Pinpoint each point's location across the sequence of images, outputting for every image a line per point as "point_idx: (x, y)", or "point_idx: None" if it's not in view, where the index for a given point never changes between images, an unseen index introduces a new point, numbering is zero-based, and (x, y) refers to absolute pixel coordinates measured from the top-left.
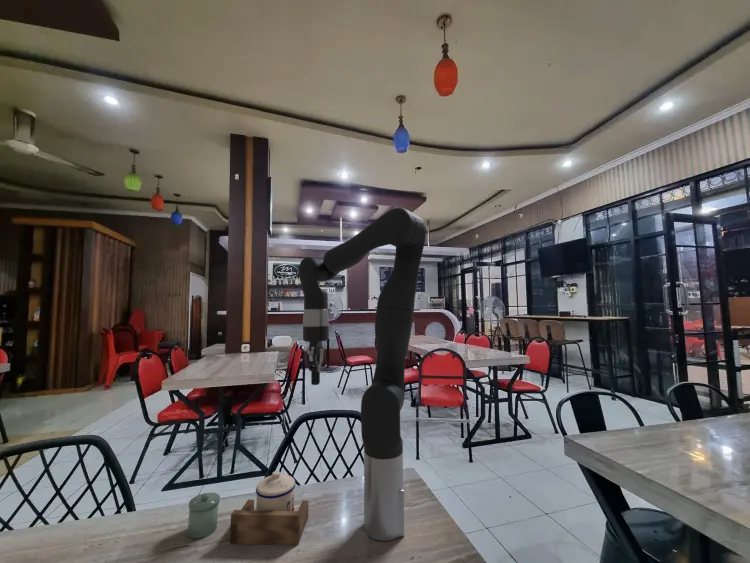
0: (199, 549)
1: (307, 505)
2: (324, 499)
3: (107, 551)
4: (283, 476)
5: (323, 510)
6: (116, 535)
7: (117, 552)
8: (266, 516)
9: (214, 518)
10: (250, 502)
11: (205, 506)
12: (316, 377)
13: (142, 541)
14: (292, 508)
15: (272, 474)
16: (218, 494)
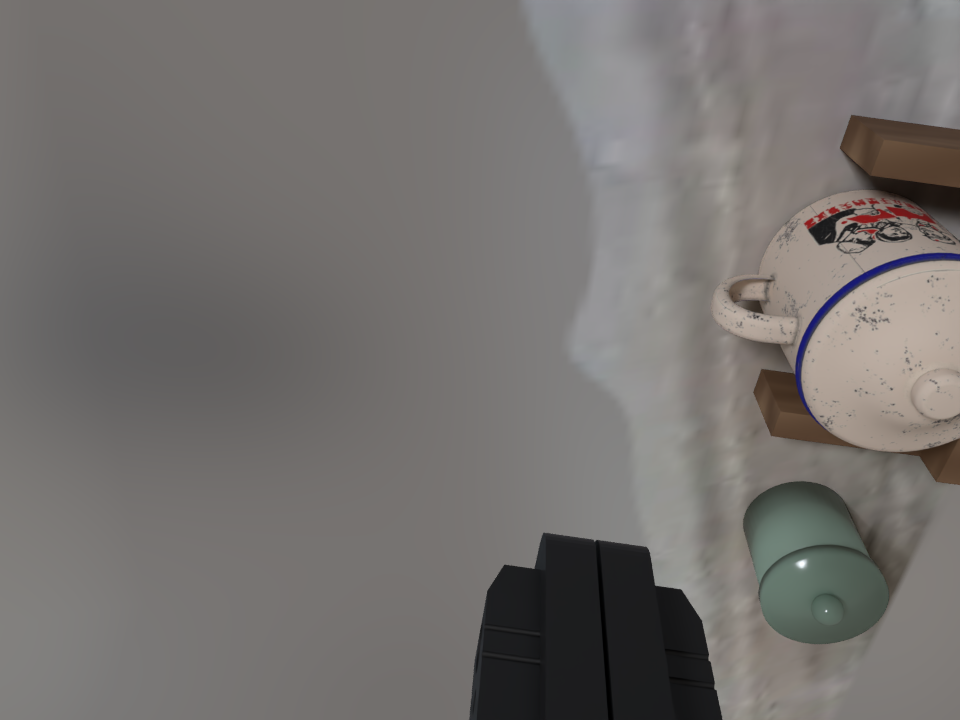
0: (909, 498)
1: (904, 139)
2: (695, 32)
3: (818, 706)
4: (938, 347)
5: (807, 31)
6: (743, 715)
7: (832, 685)
8: None
9: (836, 517)
10: (801, 422)
11: (883, 587)
12: (714, 705)
13: (799, 651)
14: (925, 220)
15: (951, 416)
16: (787, 566)
